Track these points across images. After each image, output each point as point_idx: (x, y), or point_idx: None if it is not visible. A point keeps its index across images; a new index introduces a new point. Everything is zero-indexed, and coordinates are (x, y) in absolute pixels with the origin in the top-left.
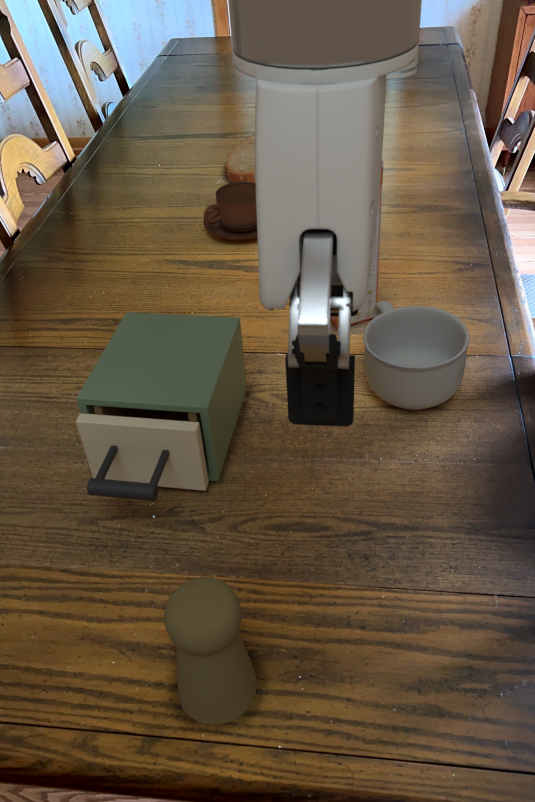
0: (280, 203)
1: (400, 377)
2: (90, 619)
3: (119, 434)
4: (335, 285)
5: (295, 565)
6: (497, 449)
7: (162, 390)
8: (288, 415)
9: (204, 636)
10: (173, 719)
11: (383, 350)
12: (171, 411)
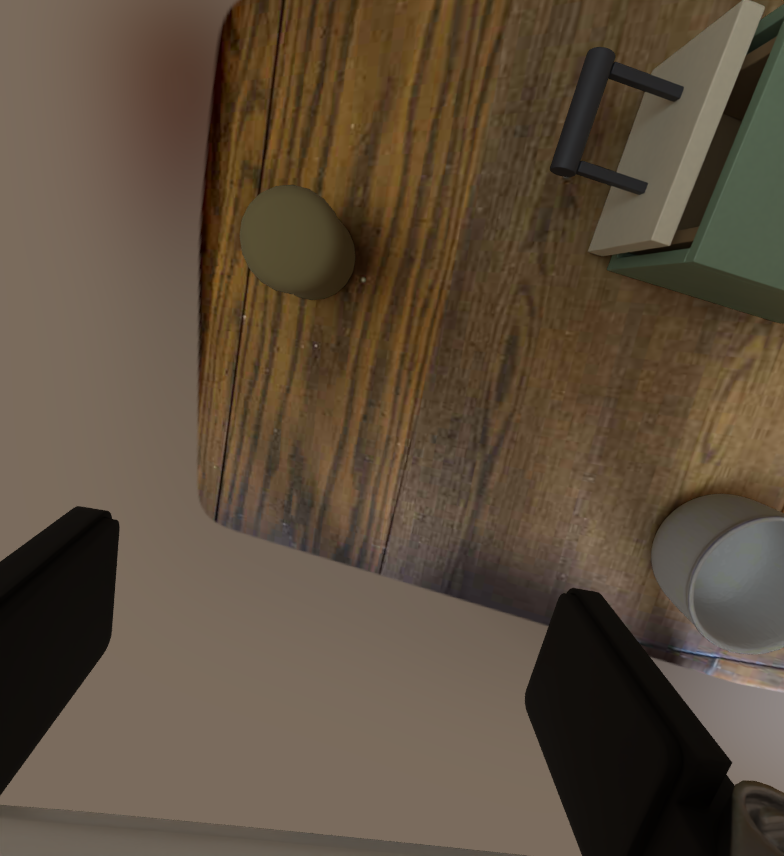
0: None
1: (693, 545)
2: (415, 88)
3: (694, 98)
4: (579, 744)
5: (453, 357)
6: None
7: (765, 177)
8: (69, 513)
9: (242, 242)
10: None
11: (773, 527)
12: None
